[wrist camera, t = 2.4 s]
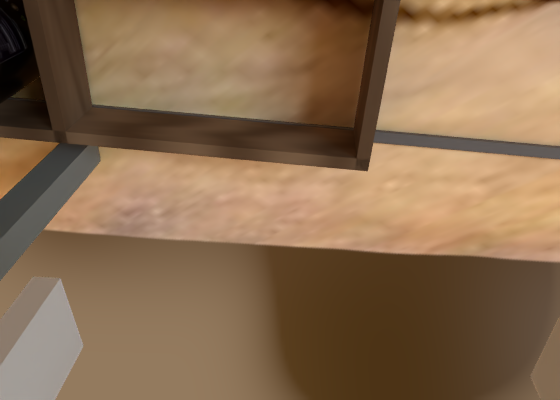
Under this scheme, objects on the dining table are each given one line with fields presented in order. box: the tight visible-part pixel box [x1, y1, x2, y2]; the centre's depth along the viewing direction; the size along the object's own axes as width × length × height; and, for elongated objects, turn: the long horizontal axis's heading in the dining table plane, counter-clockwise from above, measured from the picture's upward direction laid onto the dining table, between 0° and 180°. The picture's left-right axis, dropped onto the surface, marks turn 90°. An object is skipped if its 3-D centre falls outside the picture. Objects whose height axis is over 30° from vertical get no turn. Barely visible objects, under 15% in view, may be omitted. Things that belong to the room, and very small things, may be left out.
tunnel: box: [0, 97, 560, 280], centre depth 23 cm, size 46×18×16 cm, turn 87°
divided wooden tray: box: [0, 0, 400, 171], centre depth 28 cm, size 29×11×4 cm, turn 87°
